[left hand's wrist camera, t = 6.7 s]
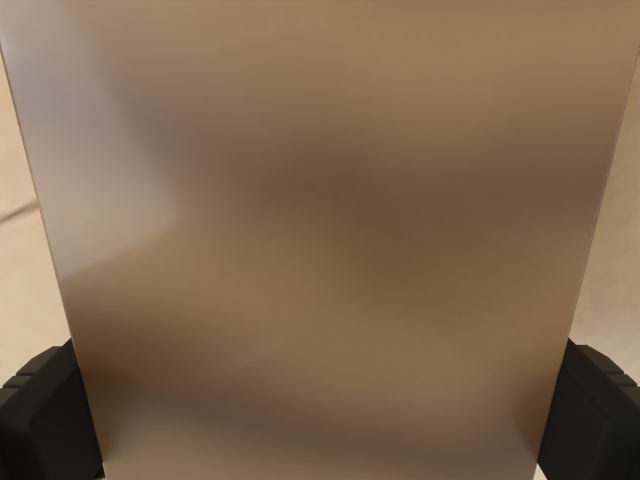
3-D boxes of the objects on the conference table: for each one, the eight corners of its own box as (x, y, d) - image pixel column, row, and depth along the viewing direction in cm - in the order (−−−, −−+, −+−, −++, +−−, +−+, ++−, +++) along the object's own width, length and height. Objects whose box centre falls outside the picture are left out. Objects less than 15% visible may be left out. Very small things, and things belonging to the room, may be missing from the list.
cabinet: (170, -172, 14) (-243, -909, 4) (468, -172, 14) (879, -911, 4) (218, 312, 20) (117, 530, 10) (421, 312, 20) (522, 530, 10)
